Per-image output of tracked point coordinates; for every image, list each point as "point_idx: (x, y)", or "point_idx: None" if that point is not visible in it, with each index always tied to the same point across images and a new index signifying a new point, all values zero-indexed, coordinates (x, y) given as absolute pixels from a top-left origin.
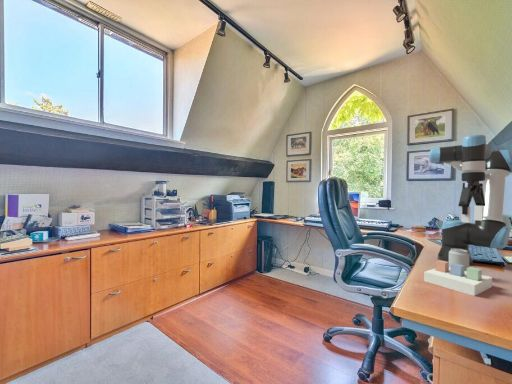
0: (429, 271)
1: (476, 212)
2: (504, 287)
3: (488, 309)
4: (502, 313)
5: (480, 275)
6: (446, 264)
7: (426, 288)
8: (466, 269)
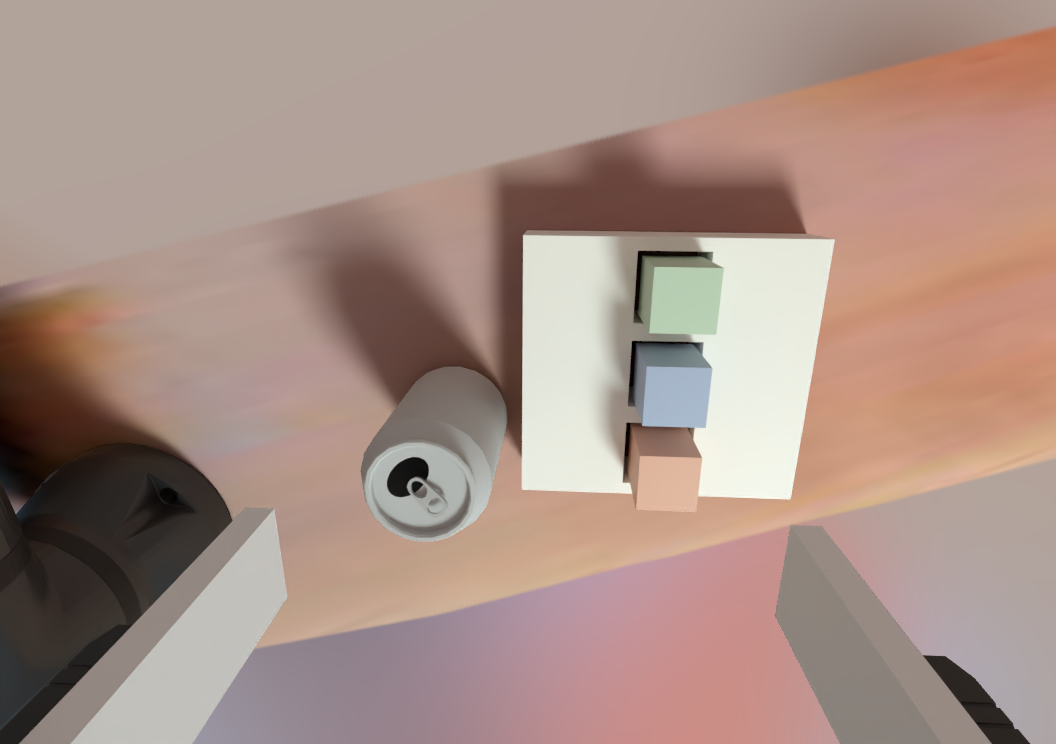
0: (754, 485)
1: (209, 680)
2: (464, 186)
3: (978, 124)
4: (983, 64)
5: (670, 261)
6: (677, 451)
7: (897, 415)
8: (467, 385)
